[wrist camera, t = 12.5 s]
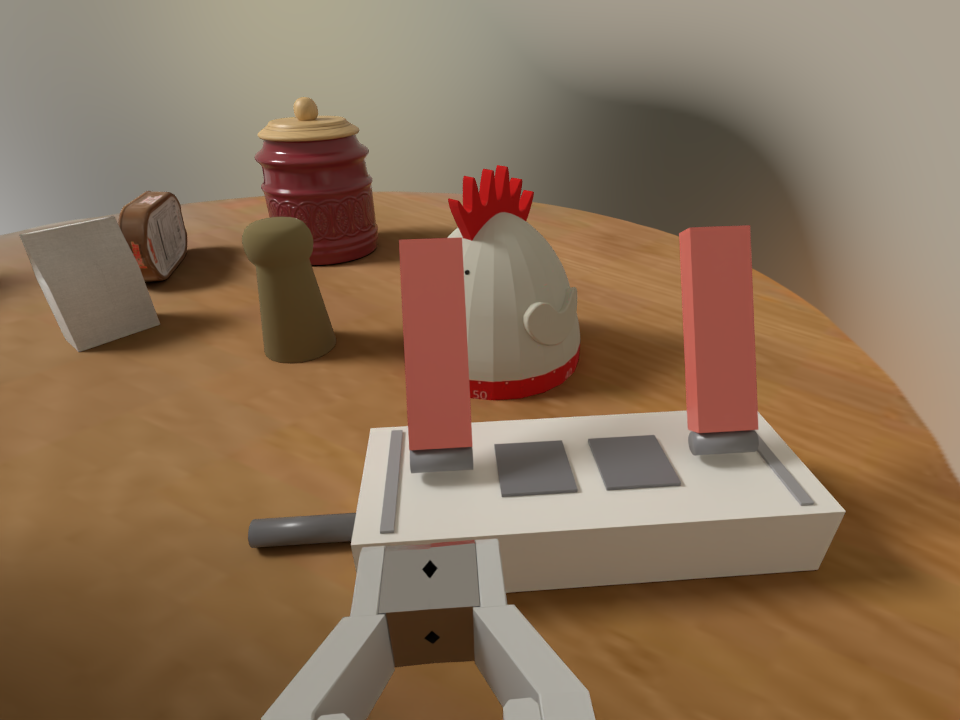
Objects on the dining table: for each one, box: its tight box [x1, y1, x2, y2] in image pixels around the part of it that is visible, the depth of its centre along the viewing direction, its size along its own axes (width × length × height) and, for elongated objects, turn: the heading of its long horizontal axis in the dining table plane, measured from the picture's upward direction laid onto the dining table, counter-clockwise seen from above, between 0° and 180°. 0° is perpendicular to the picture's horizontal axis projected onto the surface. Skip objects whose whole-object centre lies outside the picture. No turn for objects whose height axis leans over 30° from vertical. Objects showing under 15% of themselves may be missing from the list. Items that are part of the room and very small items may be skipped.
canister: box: [255, 97, 379, 265], centre depth 63 cm, size 13×13×18 cm
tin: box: [118, 191, 187, 281], centre depth 61 cm, size 15×3×8 cm, turn 13°
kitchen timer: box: [448, 165, 580, 400], centre depth 41 cm, size 14×14×15 cm
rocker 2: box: [679, 225, 759, 455], centre depth 26 cm, size 3×1×11 cm, turn 94°
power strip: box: [248, 411, 846, 593], centre depth 27 cm, size 28×8×4 cm, turn 94°
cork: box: [242, 217, 336, 363], centre depth 43 cm, size 6×6×11 cm
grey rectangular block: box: [20, 216, 160, 352], centre depth 46 cm, size 4×7×10 cm, turn 140°
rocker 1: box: [399, 237, 473, 473], centre depth 26 cm, size 3×1×11 cm
